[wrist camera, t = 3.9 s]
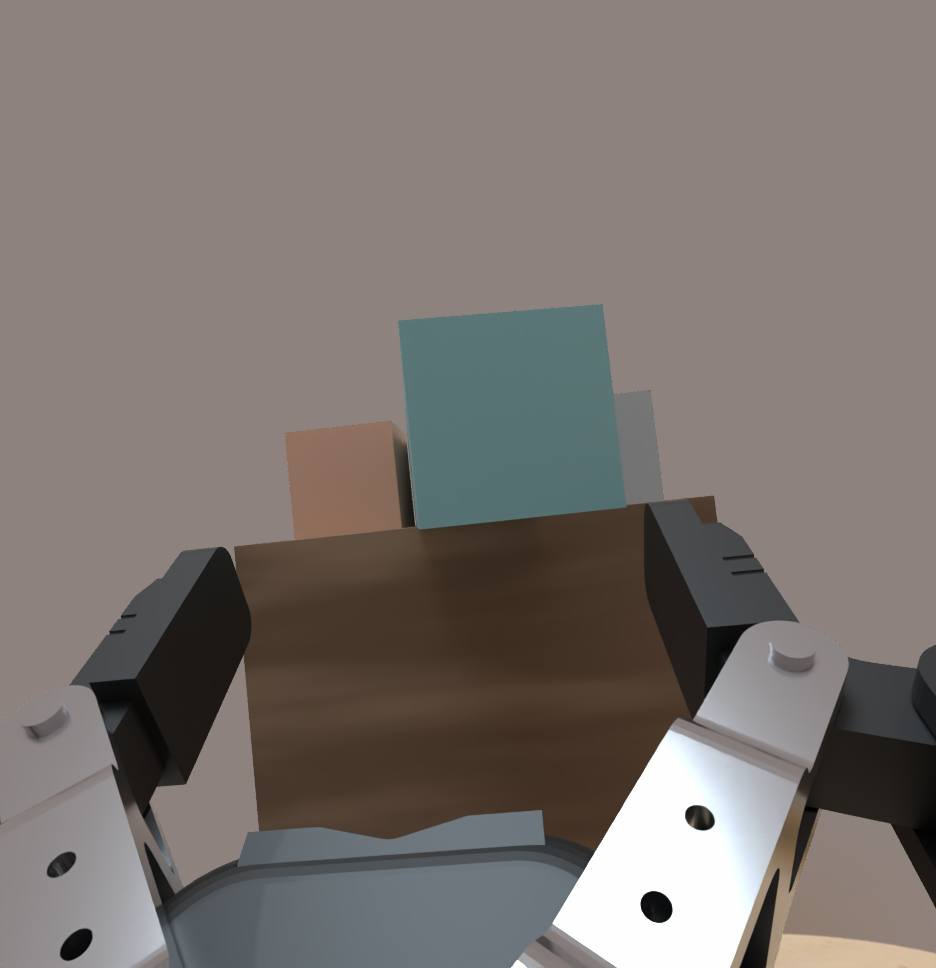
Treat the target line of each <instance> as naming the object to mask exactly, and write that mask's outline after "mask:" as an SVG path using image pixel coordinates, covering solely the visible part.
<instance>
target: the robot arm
mask: <svg viewBox="0 0 936 968" xmlns="http://www.w3.org/2000/svg"><path fill="white" fill-rule="evenodd" d="M644 577H645V587H646V593H647V598H648V602H649V605H650V608H651V611H652V613H653V616H654V619H655V621H656V624H657V627H658V629H659V632H660V635H661V637H662V640H663V643H664V645H665V648H666V651H667V653H668V656H669V659H670V662H671V664H672V667H673V670H674V672H675V675H676V678H677V680H678V683H679V686H680V688H681V691H682V694H683V696H684V699H685V702H686V704H687V707H688V710H689V712H690V715H691V718H692V720H691V719H688V718H686V717H683V716H681V717H679V718H677V719H676V720H675V721H674V723H673V724H672V725H671V727H670V728H669V730H668V732H667V733H666V735H665V737H664V738H663V740H662V742H661V743H660V745H659V747H658V748H657V750H656V752H655V754H654V755H653V757H652V759H651V760H650V762H649V764H648V765H647V767H646V769H645V770H644V772H643V774H642V775H641V777H640V779H639V780H638V782H637V784H636V785H635V787H634V789H633V790H632V792H631V794H630V795H629V797H628V799H627V800H626V802H625V804H624V805H623V807H622V809H621V811H620V812H619V814H618V816H617V817H616V819H615V821H614V822H613V824H612V826H611V827H610V829H609V831H608V832H607V834H606V836H605V837H604V839H603V841H602V842H601V844H600V846H599V847H598V849H597V851H594V850H591V849H589V848H587V847H585V846H583V845H580V844H578V843H575V842H572V841H569V840H566V839H563V838H560V837H555V836H549V835H545V834H544V825H543V817H542V810H537V811H523V812H510V813H497V814H483V815H470V816H465V817H462V818H459V819H456V820H453V821H450V822H447V823H443V824H440V825H437V826H434V827H431V828H428V829H425V830H422V831H418V832H415V833H412V834H409V835H406V836H403V837H400V838H396V839H380V838H375V837H369V836H364V835H359V834H354V833H348V832H343V831H338V830H332V829H327V828H322V827H311V828H297V829H284V830H271V831H258V832H248V834H247V837H246V840H245V843H244V846H243V849H242V852H241V855H240V858H239V859H238V860H235V861H232V862H230V863H228V864H225V865H223V866H221V867H218V868H216V869H214V870H213V871H210V872H209V873H207V874H205V875H203V876H201V877H200V878H198V879H196V880H195V881H194V882H192V883H190V884H189V885H187V886H186V887H184V888H183V885H182V882H181V880H180V877H179V874H178V872H177V869H176V866H175V863H174V860H173V858H172V855H171V852H170V849H169V847H168V844H167V841H166V838H165V835H164V833H163V830H162V827H161V824H160V822H159V819H158V816H157V813H156V811H155V809H154V807H153V805H152V803H151V801H150V799H151V797H152V795H153V793H154V791H155V789H156V787H159V786H171V785H183V784H186V783H187V781H188V778H189V776H190V774H191V771H192V769H193V767H194V765H195V763H196V760H197V758H198V756H199V754H200V751H201V749H202V747H203V745H204V742H205V740H206V738H207V736H208V733H209V731H210V729H211V727H212V724H213V722H214V720H215V718H216V715H217V713H218V711H219V709H220V706H221V704H222V702H223V700H224V697H225V695H226V693H227V691H228V689H229V686H230V684H231V682H232V679H233V677H234V675H235V673H236V671H237V668H238V666H239V664H240V662H241V659H242V657H243V655H244V653H245V650H246V648H247V646H248V644H249V641H250V637H251V628H252V623H251V614H250V610H249V607H248V604H247V601H246V599H245V596H244V593H243V590H242V587H241V584H240V581H239V579H238V576H237V573H236V570H235V567H234V564H233V561H232V559H231V556H230V554H229V552H228V551H227V550H226V549H225V548H223V547H215V548H206V549H196V550H187V551H183V552H181V553H180V554H179V556H178V557H177V558H176V560H175V561H174V563H173V564H172V565H171V567H170V568H169V570H168V571H167V572H166V574H165V575H164V577H163V578H161V579H157V580H156V581H154V582H153V583H152V584H151V585H149V586H148V587H147V588H145V589H144V590H143V591H141V592H140V593H139V594H138V595H136V596H135V597H134V599H133V600H132V601H131V603H130V604H129V605H128V607H127V608H126V609H125V611H124V612H123V613H122V615H121V619H118V620H117V622H116V623H115V624H114V626H113V627H112V629H111V630H110V631H109V632H110V635H106V636H105V638H104V639H103V641H102V642H101V643H100V645H99V646H98V647H97V649H96V650H95V652H94V653H93V654H92V655H91V657H90V658H89V660H88V661H87V662H86V664H85V665H84V666H83V668H82V669H81V670H80V672H79V673H78V675H77V676H76V677H75V679H74V680H73V681H72V683H71V684H70V685H69V686H64V687H59V688H56V689H53V690H50V691H47V692H45V693H42V694H40V695H38V696H36V697H34V698H32V699H31V700H29V701H27V702H26V703H24V704H23V705H21V706H20V707H19V708H17V709H16V710H15V711H14V712H12V713H11V714H10V715H9V716H8V717H7V718H6V719H5V720H4V721H3V722H2V724H1V725H0V968H774V964H775V961H776V957H777V954H778V950H779V946H780V942H781V938H782V933H783V929H784V925H785V922H786V918H787V915H788V911H789V908H790V905H791V902H792V899H793V896H794V893H795V890H796V887H797V884H798V881H799V878H800V875H801V872H802V869H803V866H804V862H805V860H806V856H807V854H808V851H809V848H810V845H811V842H812V839H813V836H814V832H815V830H816V827H817V824H818V820H819V817H820V814H821V812H822V809H824V810H829V811H833V812H838V813H843V814H848V815H852V816H857V817H862V818H867V819H871V820H876V821H881V822H886V823H890V824H891V825H892V827H893V829H894V831H895V833H896V835H897V836H898V838H899V840H900V842H901V844H902V846H903V847H904V850H905V851H906V853H907V855H908V857H909V859H910V860H911V862H912V865H913V866H914V868H915V870H916V872H917V874H918V876H919V878H920V879H921V881H922V883H923V885H924V887H925V889H926V890H927V892H928V894H929V896H930V898H931V900H932V902H933V904H934V906H935V908H936V645H935V646H932V647H930V648H928V649H927V650H926V651H924V652H923V654H922V655H921V656H920V659H919V662H918V667H917V669H915V668H907V667H899V666H892V665H885V664H878V663H871V662H865V661H860V660H856V659H852V658H849V657H847V655H846V653H845V651H844V649H843V648H842V647H841V646H840V644H838V642H837V641H836V640H834V639H833V638H832V637H831V636H829V635H827V634H826V633H824V632H822V631H820V630H818V629H816V628H814V627H811V626H808V625H805V624H801V623H799V621H798V620H797V618H796V617H795V615H794V614H793V612H792V611H791V609H790V608H789V606H788V605H787V603H786V602H785V600H784V599H783V597H782V596H781V594H780V593H779V591H778V590H777V588H776V587H775V585H774V584H773V582H772V581H771V579H770V578H769V576H768V575H767V573H764V569H763V567H762V566H761V564H760V563H759V561H758V560H757V558H754V554H753V552H752V551H751V549H750V548H749V546H748V545H747V543H746V542H745V540H744V539H743V537H742V536H740V535H738V534H737V533H736V532H734V531H733V530H731V529H729V528H728V527H726V526H725V525H723V524H722V523H710V524H702V522H701V521H700V519H699V517H698V516H697V514H696V512H695V511H694V509H693V507H692V505H691V504H690V502H689V501H688V500H687V499H683V500H673V501H664V502H654V503H646V505H645V508H644Z"/></svg>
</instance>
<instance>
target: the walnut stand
mask: <svg viewBox="0 0 936 968" xmlns="http://www.w3.org/2000/svg"><path fill="white" fill-rule="evenodd" d="M683 499H687V500H688V501H689V502H690V504H691V505H692V507H693V509H694V511H695V512H696V514H697V516H698V517H699V519H700V521H701V522H702V524H710V523H717V516H716V508H715V500H714V496H706V497H695V498H683ZM683 499H672V500H663V501H654V502H664V501H673V500H683ZM654 502H644V503H635V504H626V506H627V507H625V508H616V509H607V510H597V511H588V512H579V513H569V514H560V515H551V516H541V517H532V518H523V519H513V520H504V521H495V522H485V523H476V524H467V525H458V526H448V527H439V528H430V529H419V528H418V527H417V526H415V527H408V528H400V529H390V530H381V531H372V532H362V533H353V534H343V535H334V536H325V537H315V538H306V539H296V540H287V541H279V542H271V543H263V544H254V545H245V546H236V547H234V550H235V561H236V572H237V576H238V579H239V581H240V584H241V587H242V590H243V593H244V596H245V599H246V601H247V604H248V607H249V610H250V614H251V623H252V628H251V637H250V641H249V644H248V646H247V648H246V650H245V653H244V663H245V673H246V686H247V697H248V707H249V708H248V709H249V720H250V731H251V742H252V754H253V766H254V777H255V789H256V800H257V811H258V823H259V831H271V830H284V829H297V828H311V827H322V828H327V829H332V830H338V831H343V832H348V833H354V834H359V835H364V836H369V837H375V838H380V839H396V838H400V837H403V836H406V835H409V834H412V833H415V832H418V831H422V830H425V829H428V828H431V827H434V826H437V825H440V824H443V823H447V822H450V821H453V820H456V819H459V818H462V817H465V816H470V815H483V814H497V813H510V812H523V811H537V810H542V817H543V825H544V834H545V835H549V836H555V837H560V838H563V839H566V840H569V841H572V842H575V843H578V844H580V845H583V846H585V847H587V848H589V849H591V850H594V851H597V849H598V847H599V846H600V844H601V842H602V841H603V839H604V837H605V836H606V834H607V832H608V831H609V829H610V827H611V826H612V824H613V822H614V821H615V819H616V817H617V816H618V814H619V812H620V811H621V809H622V807H623V805H624V804H625V802H626V800H627V799H628V797H629V795H630V794H631V792H632V790H633V789H634V787H635V785H636V784H637V782H638V780H639V779H640V777H641V775H642V774H643V772H644V770H645V769H646V767H647V765H648V764H649V762H650V760H651V759H652V757H653V755H654V754H655V752H656V750H657V748H658V747H659V745H660V743H661V742H662V740H663V738H664V737H665V735H666V733H667V732H668V730H669V728H670V727H671V725H672V724H673V723H674V721H675V720H676V719H677V718H679V717H681V716H683V717H686V718H688V719H691V720H692V718H691V715H690V712H689V710H688V707H687V704H686V702H685V699H684V696H683V694H682V691H681V688H680V686H679V683H678V680H677V678H676V675H675V672H674V670H673V667H672V664H671V662H670V659H669V656H668V653H667V651H666V648H665V645H664V643H663V640H662V637H661V635H660V632H659V629H658V627H657V624H656V621H655V619H654V616H653V613H652V611H651V608H650V605H649V602H648V598H647V593H646V587H645V577H644V508H645V505H646V503H654Z"/></svg>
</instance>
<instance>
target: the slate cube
mask: <svg viewBox="0 0 936 968" xmlns="http://www.w3.org/2000/svg"><path fill="white" fill-rule="evenodd" d="M613 397H614V406H615V414H616V422H617V431H618V439H619V448H620V456H621V464H622V473H623V481H624V490H625V498H626V504H635V503H644V502H654V501H663V500H664V495H663V487H662V479H661V471H660V462H659V454H658V447H657V438H656V430H655V421H654V413H653V405H652V397H651V390H646V391H638V392H630V393H621V394H613Z"/></svg>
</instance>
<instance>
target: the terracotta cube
mask: <svg viewBox="0 0 936 968" xmlns="http://www.w3.org/2000/svg"><path fill="white" fill-rule="evenodd" d="M285 438H286V450H287V461H288V472H289V483H290V492H291V493H290V494H291V504H292V515H293V526H294V536H295V540H296V539H306V538H315V537H325V536H334V535H343V534H353V533H362V532H372V531H381V530H390V529H400V528H408V527H415V522H414V511H413V501H412V491H411V481H410V472H409V461H408V452H407V442H406V434H405V433H404V432H403V431H402V430H401V429H399V428H398V427H397V426H396V425H395V424H394V423H393V422H392V421H385V422H376V423H368V424H358V425H351V426H342V427H332V428H323V429H315V430H305V431H297V432H287V433H285Z"/></svg>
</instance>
